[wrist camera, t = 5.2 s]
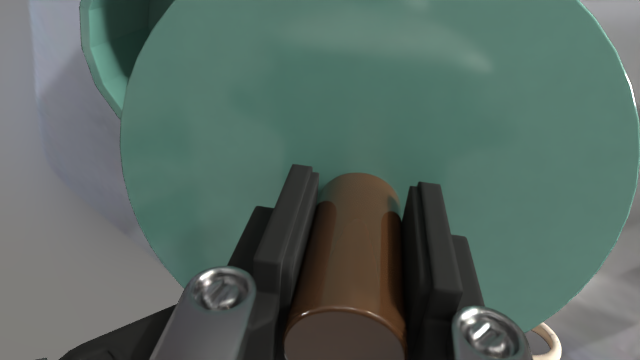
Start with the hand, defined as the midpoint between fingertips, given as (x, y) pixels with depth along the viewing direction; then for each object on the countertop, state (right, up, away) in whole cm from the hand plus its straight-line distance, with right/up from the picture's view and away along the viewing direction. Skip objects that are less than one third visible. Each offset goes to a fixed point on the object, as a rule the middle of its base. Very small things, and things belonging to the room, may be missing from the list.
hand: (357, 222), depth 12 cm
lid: (0, +1, +1) cm, 1 cm away
